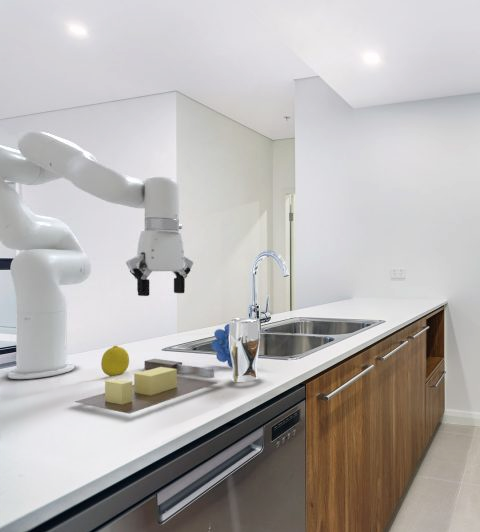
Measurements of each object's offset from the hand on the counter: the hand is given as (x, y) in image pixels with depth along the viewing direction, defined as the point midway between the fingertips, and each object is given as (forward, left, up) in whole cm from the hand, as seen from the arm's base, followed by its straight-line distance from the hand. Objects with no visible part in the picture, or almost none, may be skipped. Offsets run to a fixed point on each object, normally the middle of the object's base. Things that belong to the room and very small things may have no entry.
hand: (162, 294), depth 101 cm
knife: (+6, 0, -20) cm, 21 cm away
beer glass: (+25, +2, -20) cm, 32 cm away
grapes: (+13, +11, -20) cm, 27 cm away
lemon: (-7, -7, -20) cm, 23 cm away
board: (+14, -13, -20) cm, 28 cm away
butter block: (+14, -12, -19) cm, 27 cm away
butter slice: (+14, -20, -19) cm, 31 cm away
